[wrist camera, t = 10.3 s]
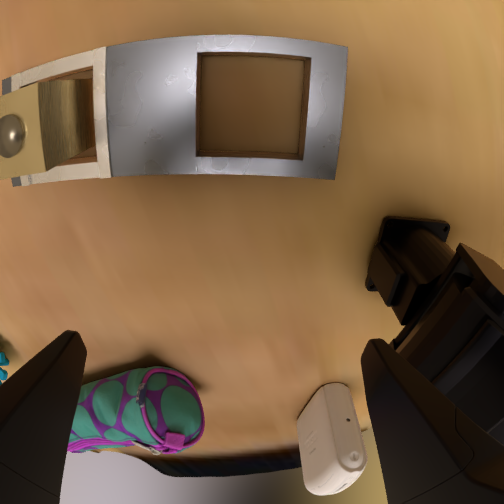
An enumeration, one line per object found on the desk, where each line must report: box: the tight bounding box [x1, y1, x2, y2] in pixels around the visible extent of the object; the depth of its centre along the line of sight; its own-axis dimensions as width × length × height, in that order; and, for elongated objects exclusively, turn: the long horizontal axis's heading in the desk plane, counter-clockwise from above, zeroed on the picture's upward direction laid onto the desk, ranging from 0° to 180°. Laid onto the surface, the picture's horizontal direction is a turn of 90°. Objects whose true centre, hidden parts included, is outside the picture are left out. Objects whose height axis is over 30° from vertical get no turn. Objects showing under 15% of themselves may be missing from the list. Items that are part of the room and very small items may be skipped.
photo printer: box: [297, 383, 367, 495], centre depth 28 cm, size 10×4×12 cm, turn 168°
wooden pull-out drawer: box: [0, 79, 96, 180], centre depth 12 cm, size 4×4×7 cm
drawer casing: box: [2, 35, 348, 187], centre depth 15 cm, size 22×8×2 cm, turn 87°
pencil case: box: [67, 366, 205, 455], centre depth 26 cm, size 21×9×10 cm, turn 119°
